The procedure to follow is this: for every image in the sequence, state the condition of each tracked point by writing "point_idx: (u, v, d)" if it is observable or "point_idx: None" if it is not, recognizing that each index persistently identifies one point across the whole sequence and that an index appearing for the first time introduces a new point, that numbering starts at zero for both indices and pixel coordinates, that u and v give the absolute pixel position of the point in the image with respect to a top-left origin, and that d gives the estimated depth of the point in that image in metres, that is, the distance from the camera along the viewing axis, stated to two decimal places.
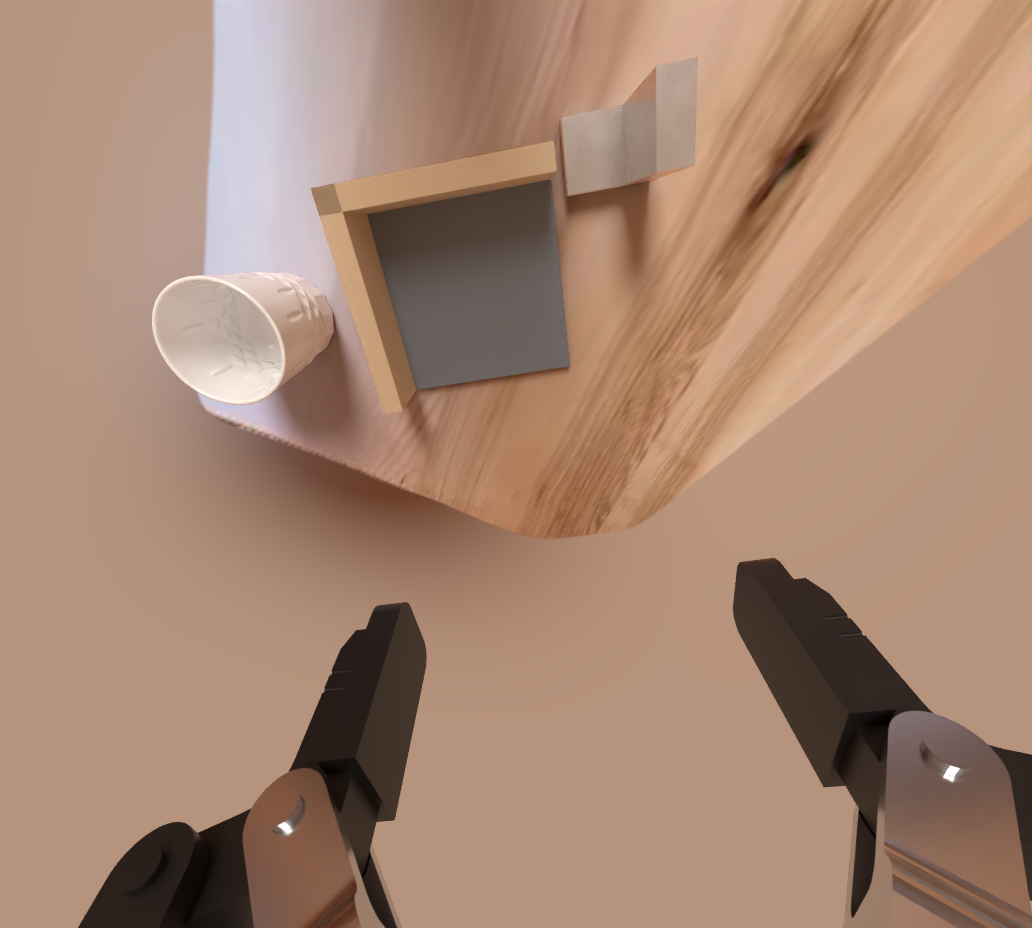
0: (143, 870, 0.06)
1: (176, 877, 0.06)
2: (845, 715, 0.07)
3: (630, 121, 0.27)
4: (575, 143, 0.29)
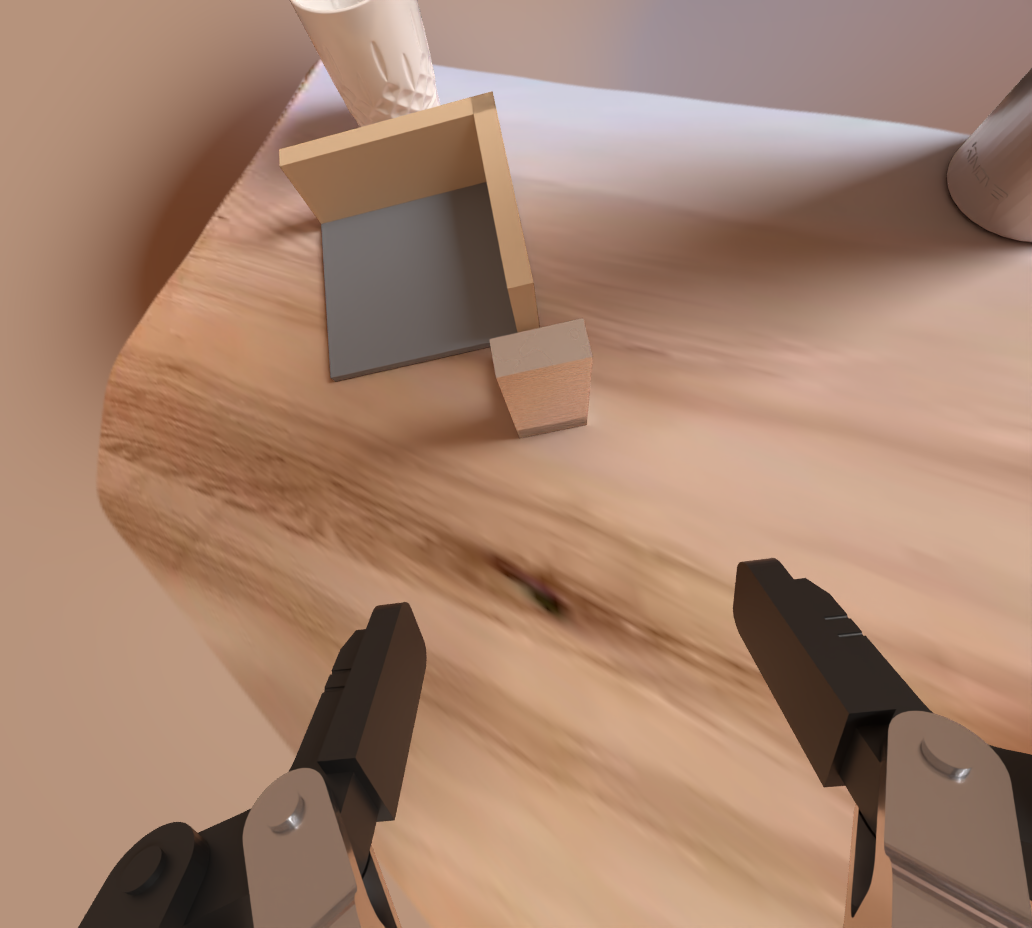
0: (143, 870, 0.06)
1: (176, 877, 0.06)
2: (845, 715, 0.07)
3: None
4: None
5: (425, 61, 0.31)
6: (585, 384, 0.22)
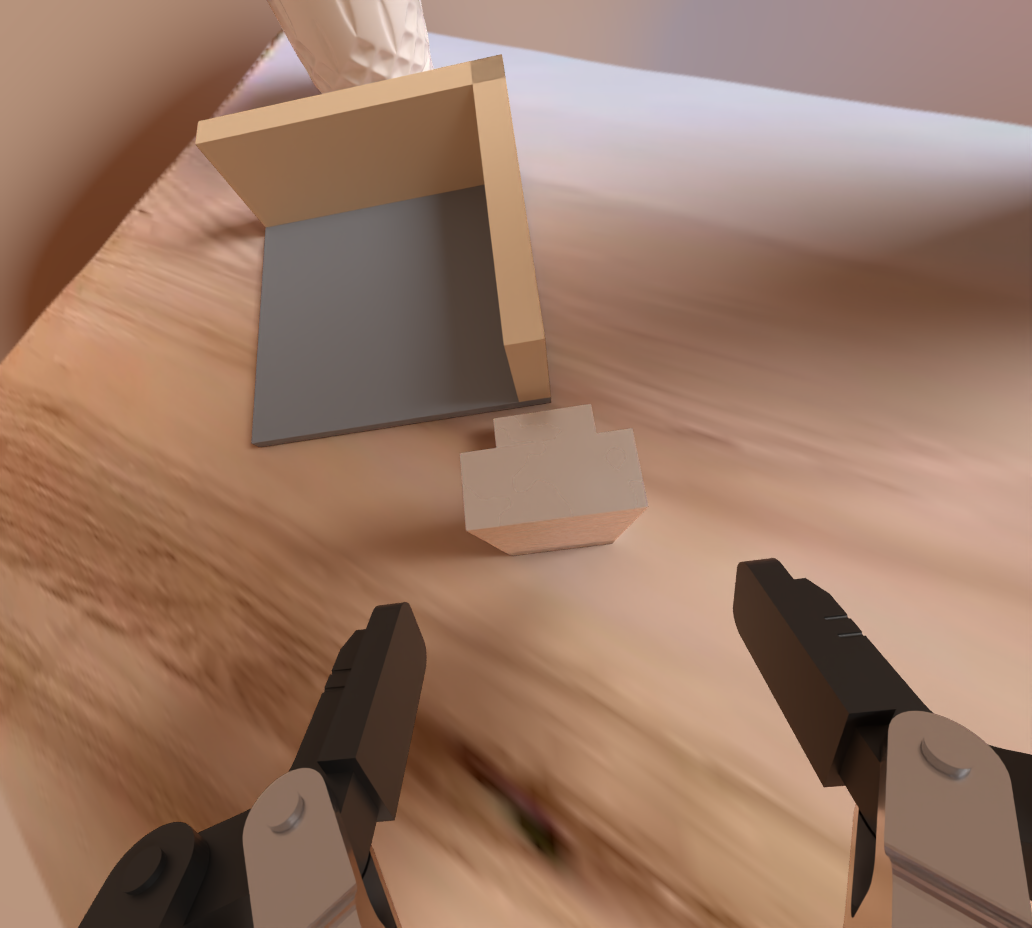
0: (143, 870, 0.06)
1: (176, 877, 0.06)
2: (845, 715, 0.07)
3: None
4: (559, 425, 0.19)
5: (413, 14, 0.22)
6: (624, 524, 0.13)
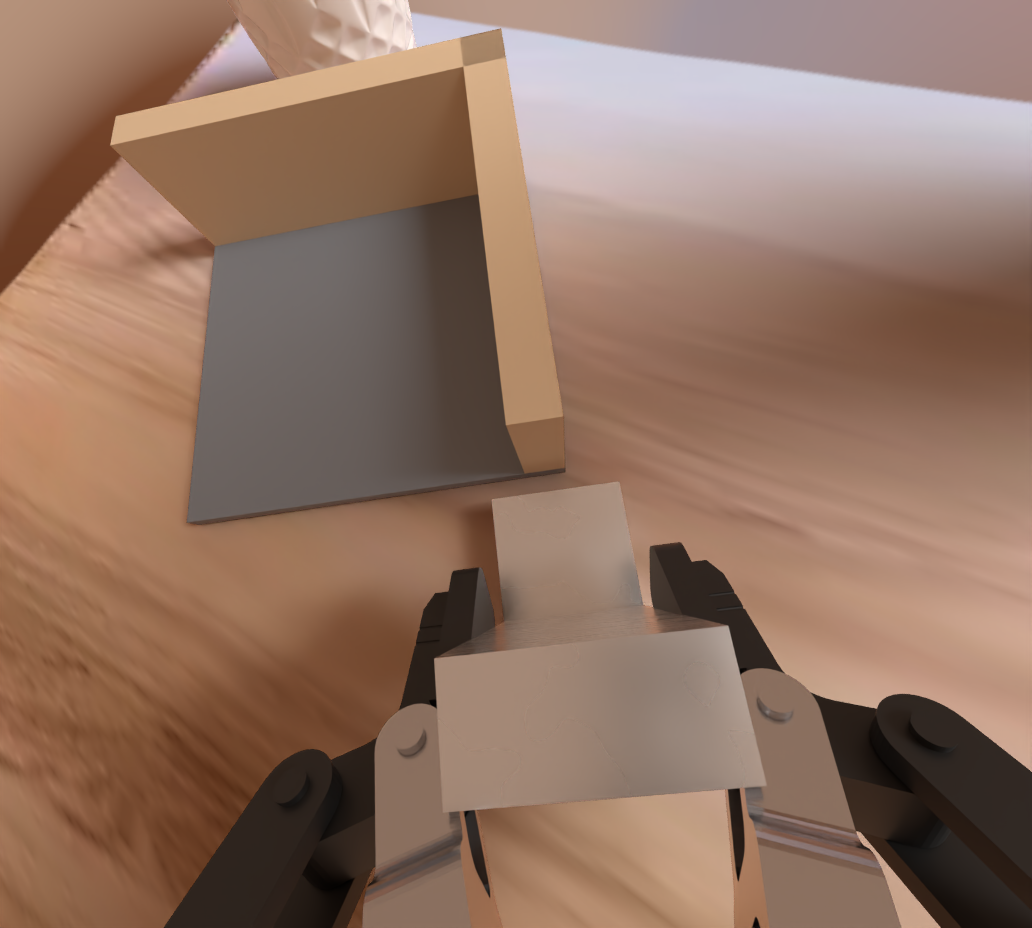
0: (291, 787, 0.07)
1: (321, 794, 0.07)
2: None
3: (610, 613, 0.12)
4: (577, 510, 0.14)
5: None
6: None
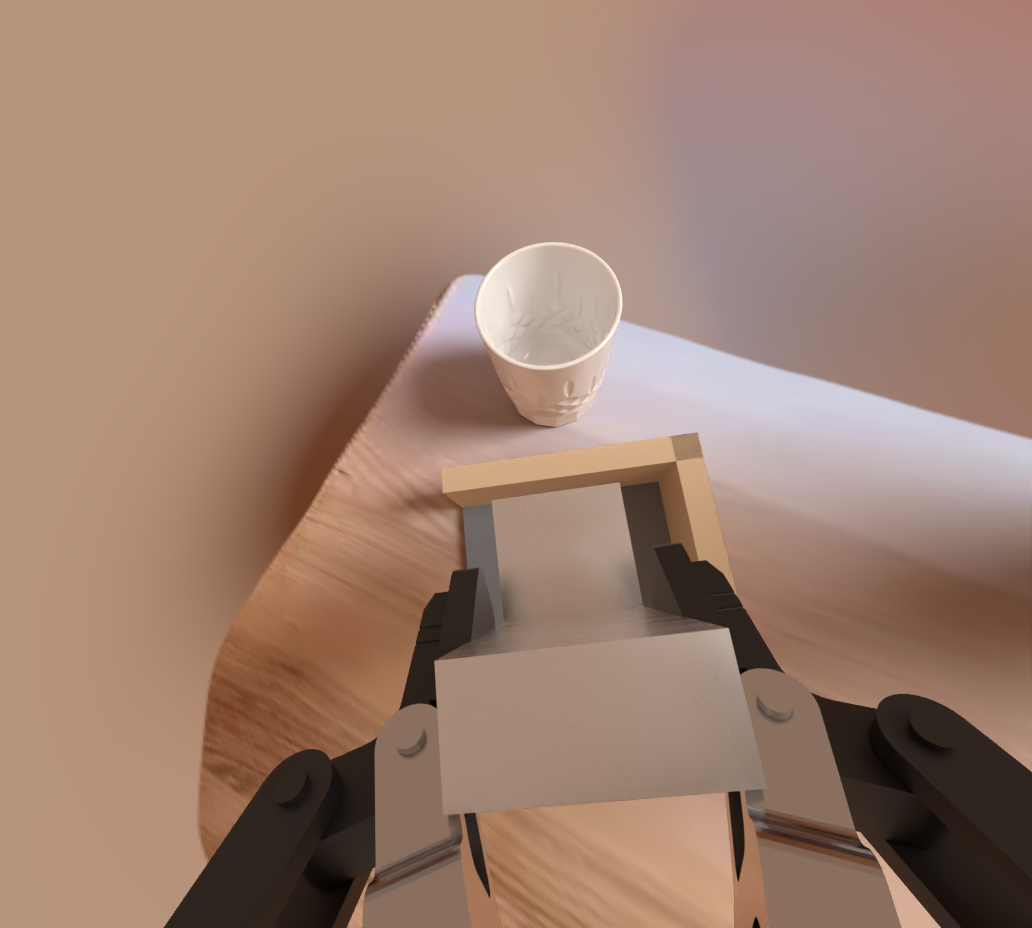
0: (291, 787, 0.07)
1: (321, 794, 0.07)
2: None
3: (610, 614, 0.12)
4: (577, 511, 0.14)
5: None
6: None
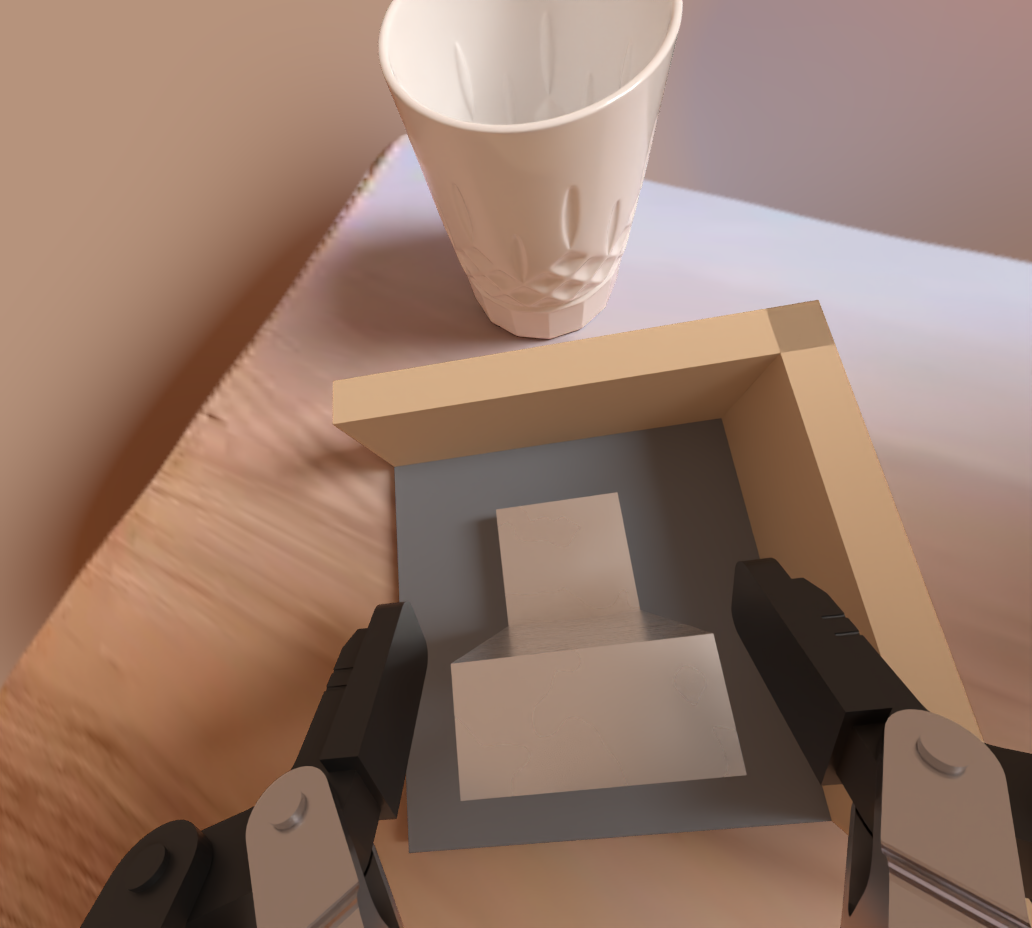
0: (147, 868, 0.06)
1: (180, 874, 0.06)
2: (842, 714, 0.07)
3: (608, 618, 0.13)
4: (578, 519, 0.15)
5: (635, 200, 0.15)
6: None
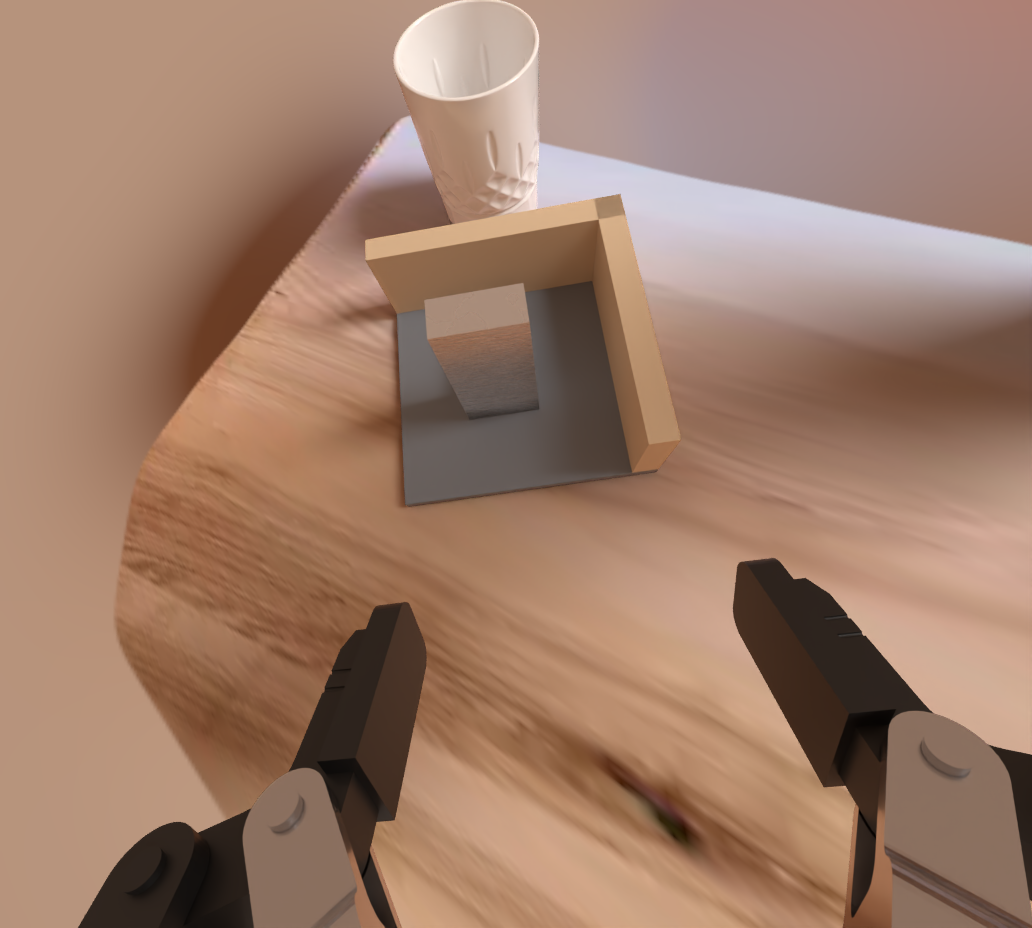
0: (143, 870, 0.06)
1: (176, 877, 0.06)
2: (845, 715, 0.07)
3: None
4: None
5: (535, 148, 0.27)
6: (528, 357, 0.21)
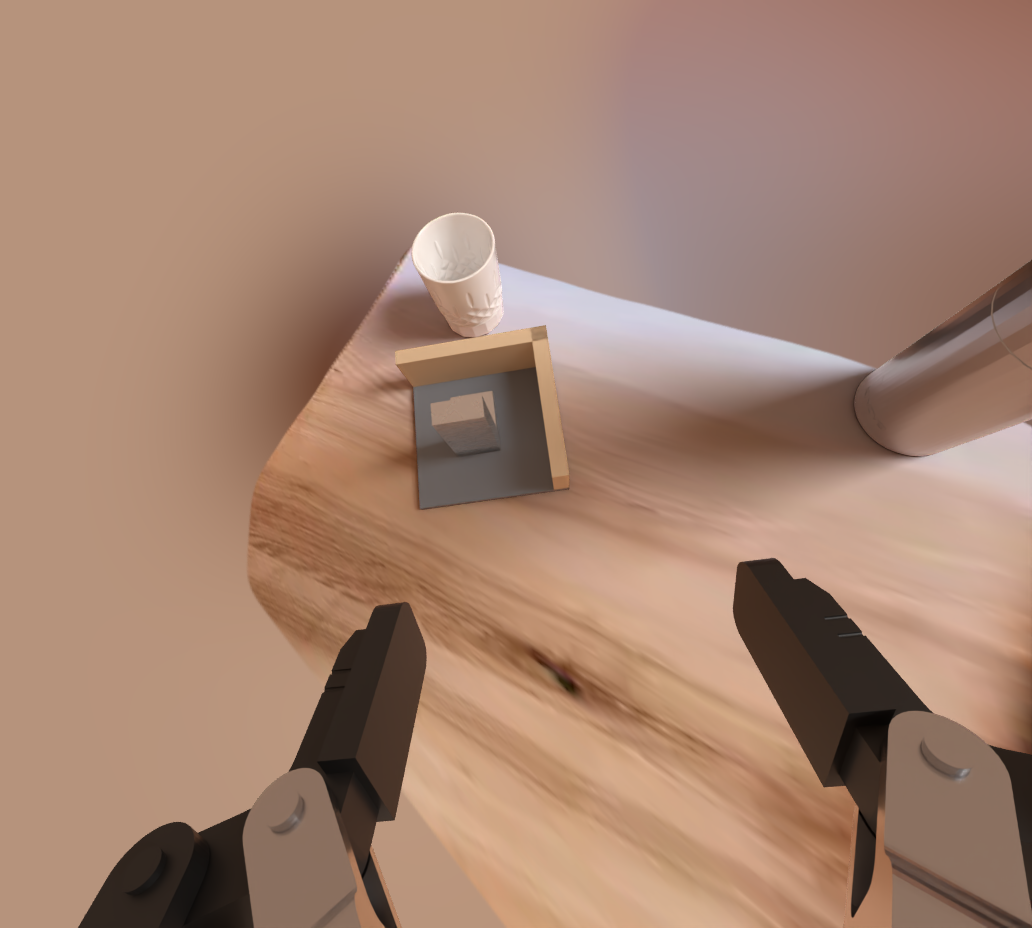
0: (143, 870, 0.06)
1: (176, 877, 0.06)
2: (845, 715, 0.07)
3: None
4: None
5: (498, 289, 0.44)
6: (487, 429, 0.38)
